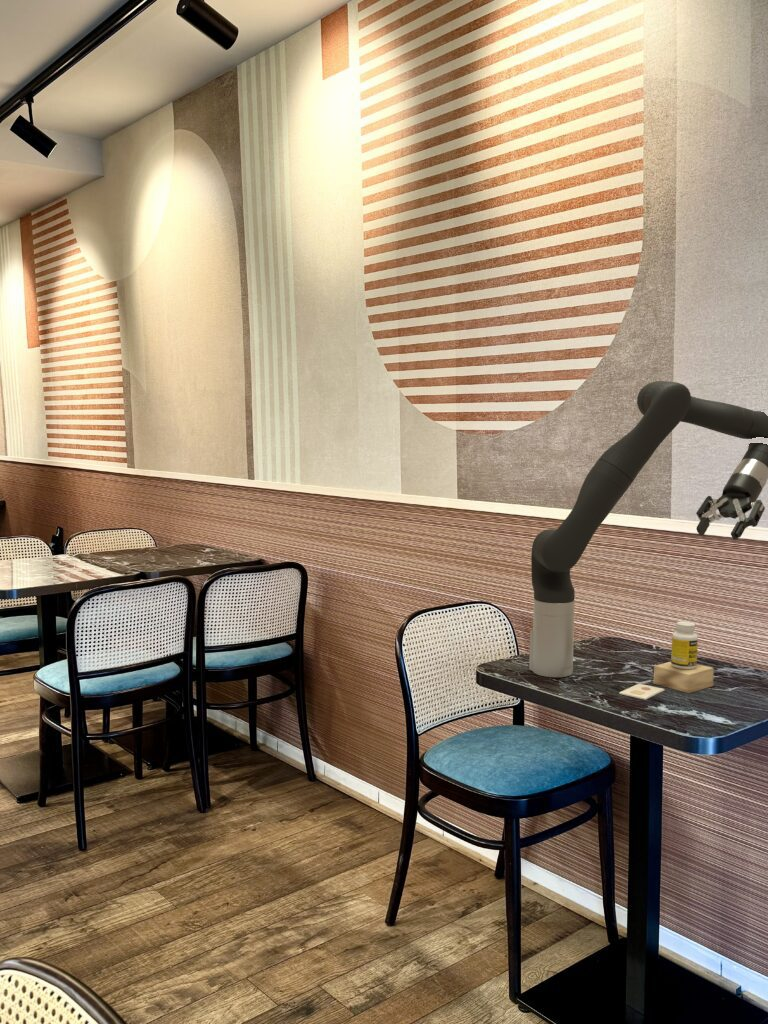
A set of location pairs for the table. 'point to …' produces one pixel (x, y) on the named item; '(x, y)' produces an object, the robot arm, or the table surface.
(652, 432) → the robot arm
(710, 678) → the beech block
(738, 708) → the table surface
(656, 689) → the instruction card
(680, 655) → the supplement bottle
